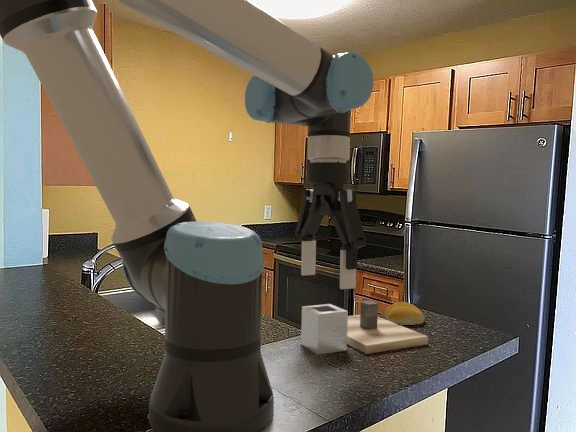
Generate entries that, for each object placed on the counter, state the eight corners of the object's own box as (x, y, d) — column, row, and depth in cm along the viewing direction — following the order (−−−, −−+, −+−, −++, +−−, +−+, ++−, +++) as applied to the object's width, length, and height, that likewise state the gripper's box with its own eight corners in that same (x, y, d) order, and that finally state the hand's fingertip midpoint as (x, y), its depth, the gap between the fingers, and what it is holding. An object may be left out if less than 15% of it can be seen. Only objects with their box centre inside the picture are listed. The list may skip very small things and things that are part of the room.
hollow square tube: (346, 350, 84) (347, 311, 84) (317, 354, 81) (318, 314, 81) (329, 340, 89) (330, 303, 89) (301, 344, 87) (301, 306, 86)
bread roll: (388, 326, 101) (389, 308, 100) (383, 315, 110) (384, 298, 109) (428, 328, 100) (429, 309, 100) (419, 317, 109) (420, 300, 109)
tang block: (427, 344, 88) (429, 309, 88) (366, 354, 82) (367, 317, 82) (370, 320, 105) (370, 291, 104) (314, 326, 98) (315, 295, 98)
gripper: (390, 159, 74) (387, 293, 75) (312, 165, 97) (311, 269, 98) (350, 157, 71) (347, 297, 72) (279, 164, 93) (278, 271, 94)
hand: (326, 281), depth 85 cm, fingers open, 13 cm apart
